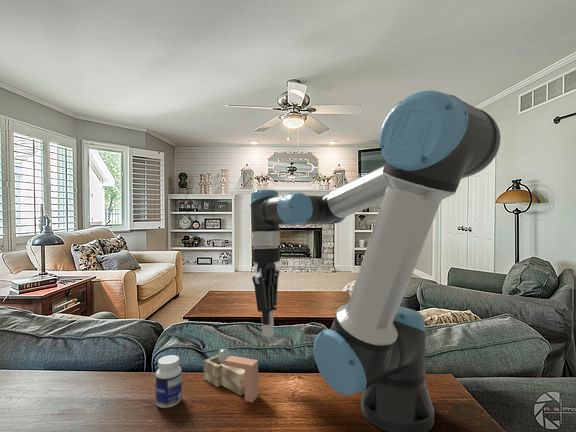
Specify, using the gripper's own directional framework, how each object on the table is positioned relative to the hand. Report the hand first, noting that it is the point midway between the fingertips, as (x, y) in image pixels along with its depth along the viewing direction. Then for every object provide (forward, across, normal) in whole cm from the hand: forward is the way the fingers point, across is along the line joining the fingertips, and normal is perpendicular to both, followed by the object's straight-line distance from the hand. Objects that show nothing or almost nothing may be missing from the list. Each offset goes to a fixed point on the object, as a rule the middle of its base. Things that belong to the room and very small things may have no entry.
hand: (268, 335), depth 87 cm
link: (+11, +6, -9) cm, 15 cm away
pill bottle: (+11, +18, -18) cm, 28 cm away
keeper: (+12, +10, -3) cm, 16 cm away
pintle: (+11, +4, -12) cm, 17 cm away
